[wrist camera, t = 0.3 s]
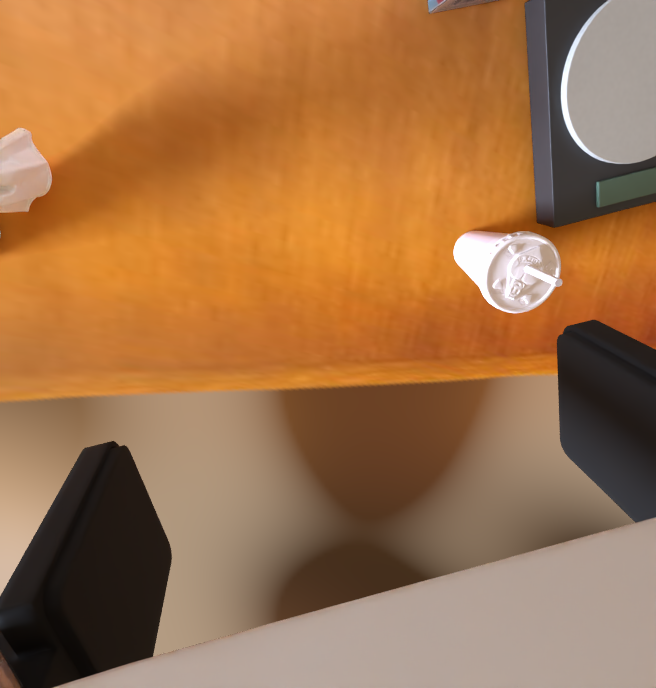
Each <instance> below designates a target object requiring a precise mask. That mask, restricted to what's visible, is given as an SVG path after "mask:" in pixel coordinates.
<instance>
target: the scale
mask: <svg viewBox="0 0 656 688" xmlns="http://www.w3.org/2000/svg"><path fill="white" fill-rule="evenodd" d="M525 17H526V35H527V53H528V71H529V88H530V106H531V124H532V142H533V160H534V178H535V195H536V213H537V223H539V224H543V225H546V226H550V227H554V228H555V227H559V226H563V225H567V224H571V223H575V222H579V221H582V220H586V219H590V218H594V217H598V216H602V215H606V214H609V213H613V212H617V211H621V210H625V209H629V208H633V207H636V206H640V205H644V204H648V203H652V202H656V0H529V1H527V2H526V3H525Z"/></svg>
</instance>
